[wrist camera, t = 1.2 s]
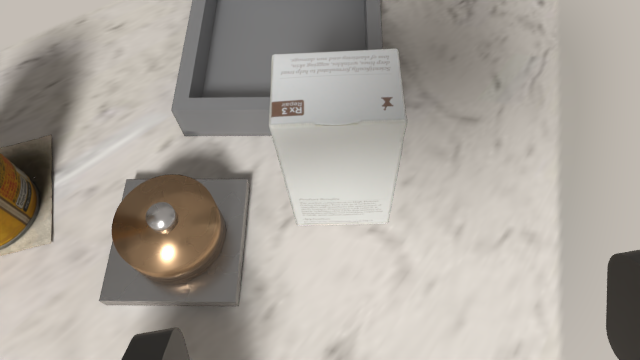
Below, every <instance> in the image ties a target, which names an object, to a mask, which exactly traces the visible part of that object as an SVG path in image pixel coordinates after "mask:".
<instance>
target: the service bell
mask: <svg viewBox="0 0 640 360" xmlns="http://www.w3.org/2000/svg"><path fill="white" fill-rule="evenodd" d="M249 189H250V185H249V182H248V180H247V179H192V178H190V177H187V176H182V175H163V176H158V177H155V178H152V179H127V180H126V184H125V189H124V193H123V197H122V202H121V203H120V205H119V207H118V208H117V211H116V213H115V216H114V219H113V224H112V239H113V242H112V246H111V251H110V255H109V259H108V264H107V268H106V273H105V277H104V282H103V286H102V290H101V295H100V299H99V301H100V302H102V303H104V304H106V305H174V306H239V296H240V285H241V274H242V264H243V253H244V242H245V232H246V221H247V210H248V200H249Z"/></svg>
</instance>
